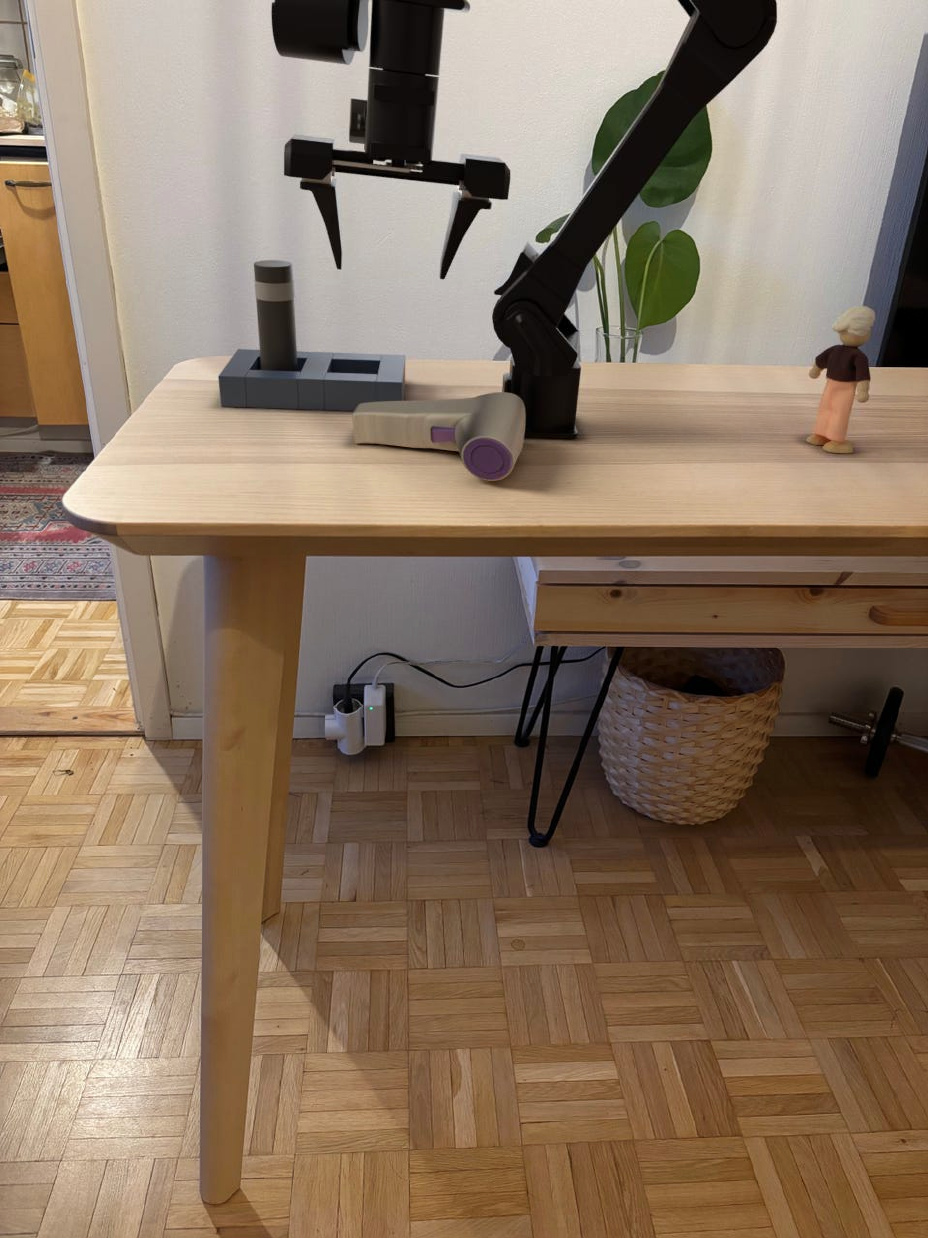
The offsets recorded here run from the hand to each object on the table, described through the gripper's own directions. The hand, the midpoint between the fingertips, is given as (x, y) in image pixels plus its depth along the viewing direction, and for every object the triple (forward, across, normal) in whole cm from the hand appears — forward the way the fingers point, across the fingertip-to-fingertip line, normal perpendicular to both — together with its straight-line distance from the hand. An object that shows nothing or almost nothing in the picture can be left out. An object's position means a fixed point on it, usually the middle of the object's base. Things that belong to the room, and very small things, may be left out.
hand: (390, 273), depth 83 cm
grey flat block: (+14, +6, -6) cm, 16 cm away
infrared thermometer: (+13, -4, +12) cm, 18 cm away
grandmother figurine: (+10, -42, +7) cm, 44 cm away
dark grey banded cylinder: (+14, +10, -6) cm, 18 cm away
